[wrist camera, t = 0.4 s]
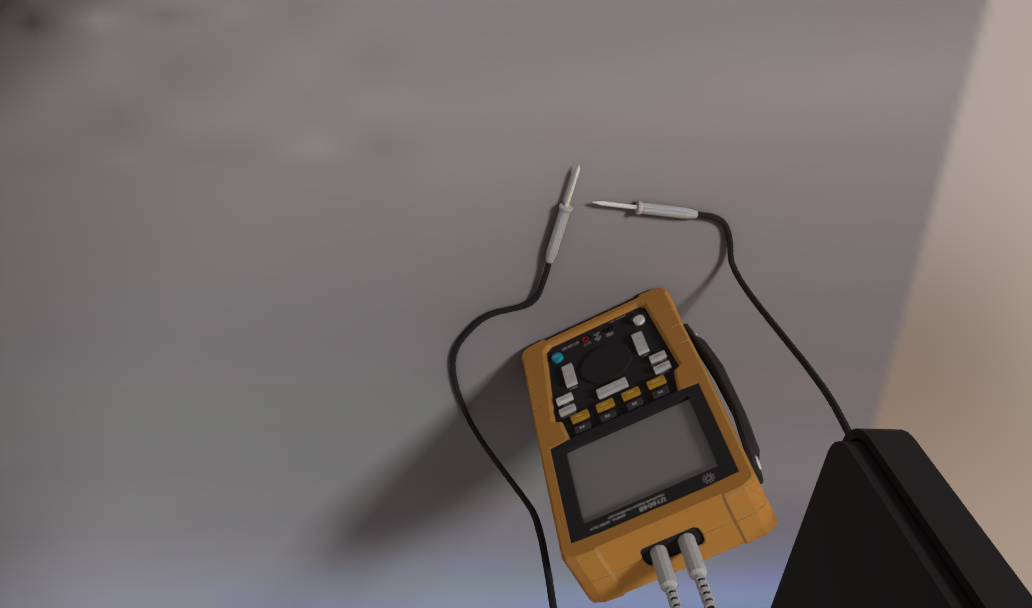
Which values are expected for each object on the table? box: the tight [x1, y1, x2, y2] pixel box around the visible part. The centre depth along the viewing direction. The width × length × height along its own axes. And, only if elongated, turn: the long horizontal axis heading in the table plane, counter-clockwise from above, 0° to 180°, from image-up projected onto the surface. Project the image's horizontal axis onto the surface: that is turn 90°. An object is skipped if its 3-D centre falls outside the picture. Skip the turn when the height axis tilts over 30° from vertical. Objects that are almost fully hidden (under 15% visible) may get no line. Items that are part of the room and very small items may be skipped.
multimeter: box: [450, 163, 851, 608], centre depth 34 cm, size 15×10×20 cm
